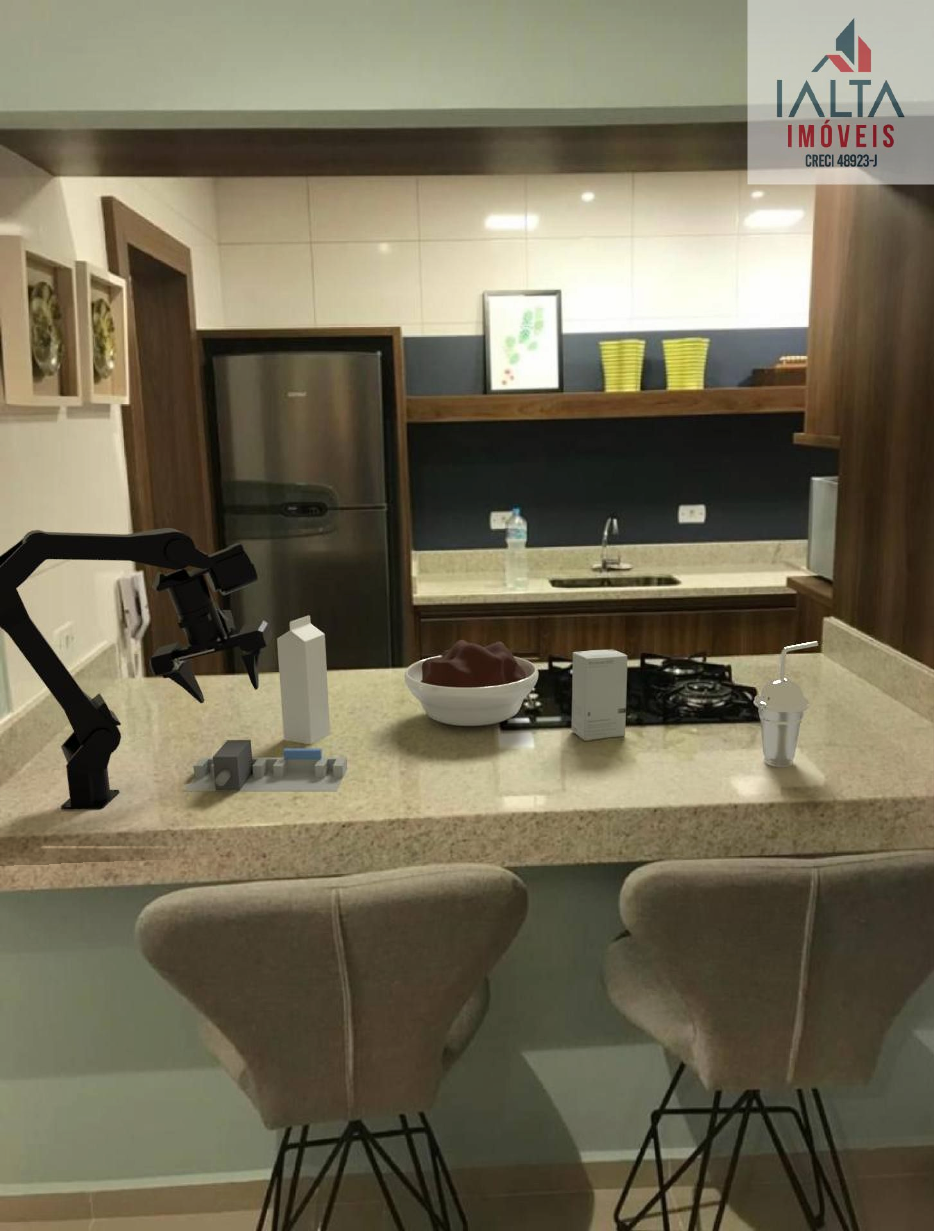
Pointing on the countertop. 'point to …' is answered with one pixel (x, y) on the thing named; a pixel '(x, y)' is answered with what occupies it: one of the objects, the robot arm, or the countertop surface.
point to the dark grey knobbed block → (233, 765)
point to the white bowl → (471, 684)
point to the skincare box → (599, 694)
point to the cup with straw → (781, 715)
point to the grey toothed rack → (281, 772)
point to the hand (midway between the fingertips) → (229, 695)
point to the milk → (303, 683)
